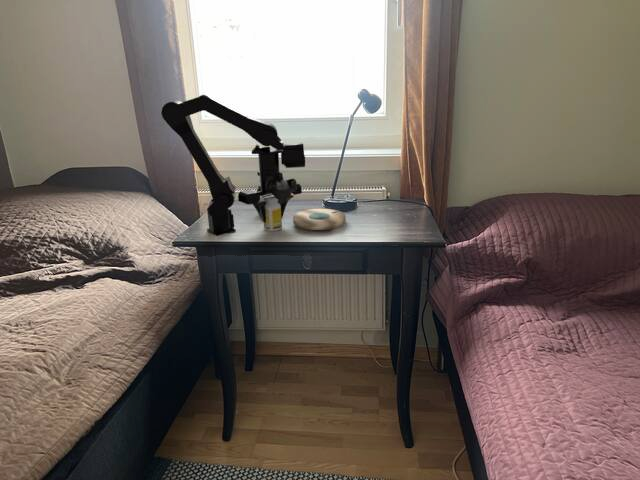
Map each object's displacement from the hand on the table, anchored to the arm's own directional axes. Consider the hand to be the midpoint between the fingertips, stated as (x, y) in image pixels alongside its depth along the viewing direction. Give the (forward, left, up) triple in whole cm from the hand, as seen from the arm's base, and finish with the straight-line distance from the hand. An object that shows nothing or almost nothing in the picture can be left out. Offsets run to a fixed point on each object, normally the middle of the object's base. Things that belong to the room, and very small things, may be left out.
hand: (272, 220), depth 137 cm
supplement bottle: (0, 0, -3) cm, 3 cm away
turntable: (+13, -6, -2) cm, 15 cm away
